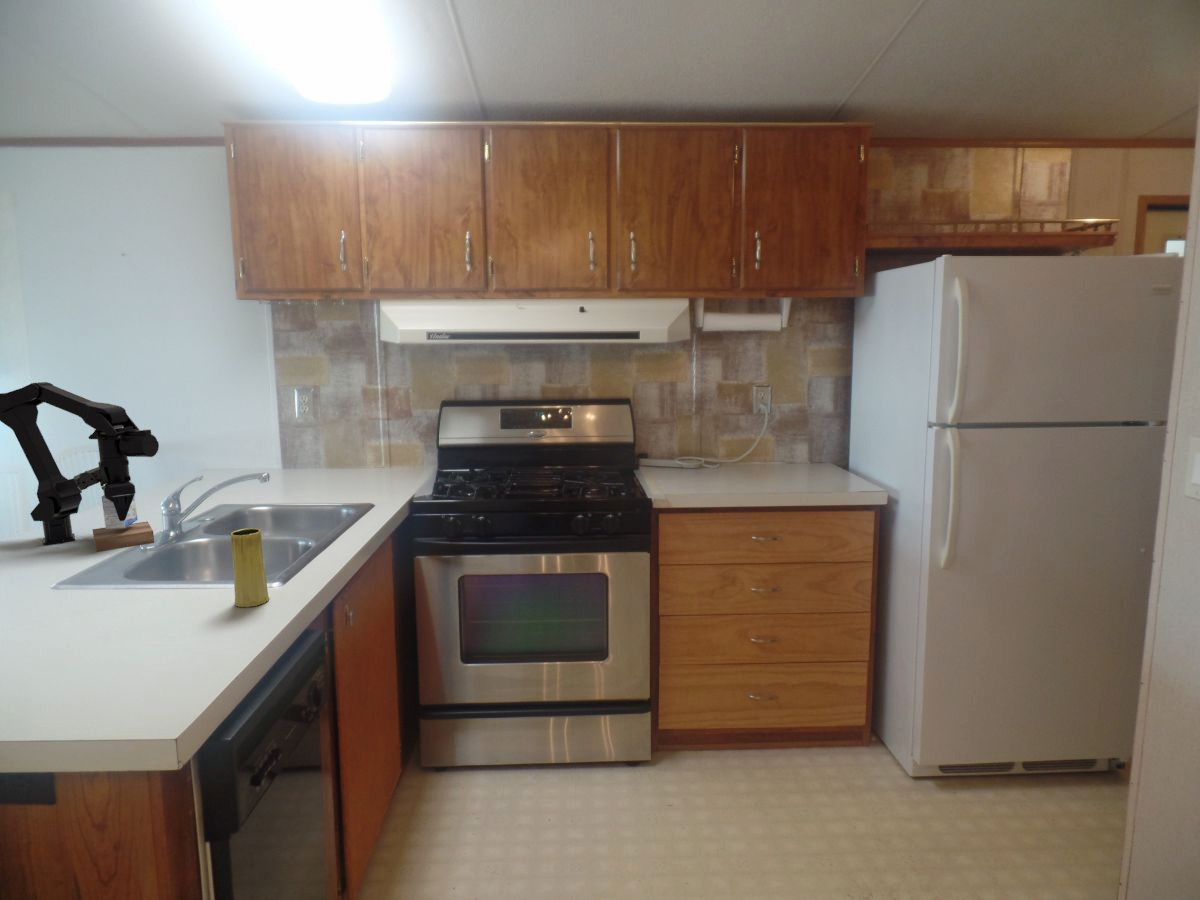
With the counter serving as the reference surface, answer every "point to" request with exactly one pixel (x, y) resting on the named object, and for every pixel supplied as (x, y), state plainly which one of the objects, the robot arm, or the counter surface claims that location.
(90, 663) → the counter surface
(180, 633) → the counter surface
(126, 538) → the block
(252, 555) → the vase
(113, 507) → the medicine box
